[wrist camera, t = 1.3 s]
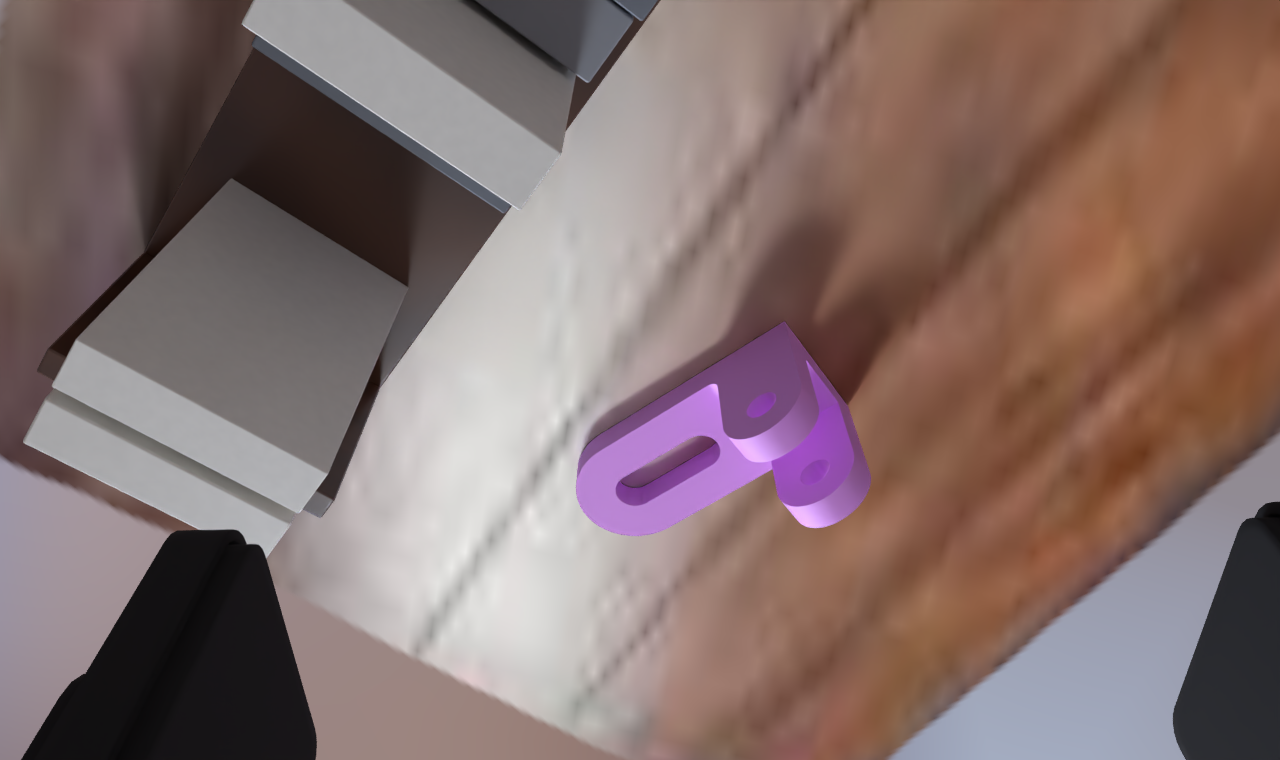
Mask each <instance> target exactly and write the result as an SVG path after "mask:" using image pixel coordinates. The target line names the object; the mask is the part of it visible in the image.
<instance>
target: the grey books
mask: <svg viewBox="0 0 1280 760" xmlns="http://www.w3.org/2000/svg"><path fill="white" fill-rule="evenodd" d="M475 1H477V2H478V3H479V4H481V5H482V6H483V7H485V8H486V9H487V10H489V11H490V12H491V13H493V14H494V15H496V16H497V17H498V18H500V19H501V20H502V21H504V22H505V23H506V24H508V25H509V26H510V27H512V28H513V29H515V30H516V31H517V32H519V33H520V34H521V35H523V36H524V37H525V38H527V39H528V40H530V41H531V42H532V43H534V44H535V45H536V46H538V47H539V48H540V49H542V50H543V51H544V52H546V53H547V54H549V55H550V56H551V57H553V58H554V59H555V60H557V61H558V62H559V63H561V64H562V65H563V66H565V67H566V68H568V69H569V70H570V71H572V72H573V73H574V74H576V75H577V76H578V77H580V78H581V79H582V80H584V81H585V82H590V81H591V80H592V78H593V77H594V75H595V74H596V73H597V71H598V70H599V68H600V67H601V66H602V64H603V63H604V61H605V60H606V59H607V57H608V56H609V54H610V53H611V52H612V50H613V49H614V47H615V46H616V45H617V43H618V42H619V40H620V39H621V38H622V36H623V35H624V33H625V32H626V31H627V29H628V28H629V27H630V25H631V24H632V22H633V16H635V17H636V18H637V19H639V20H640V21H643V20H644V19H645V17H646V16H647V15H648V13H649V12H650V11H651V9H652V8H653V6H654V5H655V4H656V2H657V1H658V0H475ZM252 46H253V47H254V48H255V49H257V50H258V51H260V52H261V53H263V54H264V55H266V56H268V57H269V58H271V59H272V60H274V61H275V62H277V63H278V64H280V65H281V66H283V67H284V68H286V69H287V70H289V71H290V72H292V73H293V74H295V75H296V76H298V77H299V78H301V79H302V80H304V81H305V82H307V83H308V84H310V85H311V86H313V87H314V88H316V89H317V90H319V91H320V92H322V93H323V94H325V95H326V96H328V97H329V98H331V99H332V100H334V101H335V102H337V103H338V104H340V105H341V106H343V107H344V108H346V109H347V110H349V111H350V112H352V113H353V114H355V115H356V116H358V117H359V118H361V119H362V120H364V121H365V122H367V123H368V124H370V125H371V126H373V127H374V128H376V129H377V130H379V131H380V132H382V133H383V134H385V135H386V136H388V137H389V138H391V139H392V140H394V141H395V142H397V143H398V144H400V145H401V146H403V147H404V148H406V149H407V150H409V151H410V152H412V153H413V154H415V155H416V156H418V157H419V158H421V159H422V160H424V161H425V162H427V163H428V164H430V165H431V166H433V167H434V168H436V169H437V170H439V171H440V172H442V173H443V174H445V175H446V176H448V177H449V178H451V179H452V180H454V181H455V182H457V183H458V184H460V185H461V186H463V187H464V188H466V189H467V190H469V191H470V192H472V193H473V194H475V195H476V196H478V197H480V198H481V199H483V200H484V201H486V202H487V203H489V204H490V205H492V206H493V207H495V208H496V209H498V210H499V211H501V212H502V213H506V211H507V210H508V209H509V207H510V206H511V205H510V204H509V203H507V202H506V201H504V200H503V199H501V198H500V197H498V196H497V195H495V194H494V193H492V192H491V191H489V190H488V189H486V188H485V187H483V186H482V185H480V184H479V183H477V182H476V181H474V180H473V179H471V178H470V177H468V176H467V175H465V174H464V173H462V172H461V171H459V170H458V169H456V168H455V167H453V166H452V165H450V164H449V163H447V162H446V161H444V160H443V159H441V158H440V157H438V156H437V155H436V154H434V153H433V152H431V151H430V150H428V149H427V148H425V147H424V146H422V145H421V144H419V143H418V142H416V141H415V140H413V139H412V138H410V137H409V136H407V135H406V134H404V133H403V132H401V131H400V130H398V129H397V128H395V127H394V126H392V125H391V124H389V123H388V122H386V121H385V120H383V119H382V118H380V117H379V116H377V115H376V114H374V113H373V112H371V111H370V110H368V109H367V108H365V107H364V106H362V105H361V104H359V103H358V102H356V101H355V100H353V99H352V98H350V97H349V96H347V95H346V94H344V93H343V92H341V91H340V90H338V89H337V88H336V87H334V86H333V85H331V84H330V83H328V82H327V81H325V80H324V79H322V78H321V77H319V76H318V75H316V74H315V73H313V72H312V71H310V70H309V69H307V68H306V67H304V66H303V65H301V64H300V63H298V62H297V61H295V60H294V59H292V58H291V57H289V56H288V55H286V54H285V53H283V52H282V51H280V50H279V49H277V48H276V47H274V46H273V45H271V44H270V43H268V42H267V41H265V40H264V39H262V38H261V37H259V36H258V35H256V36H255V38H254V40H253V42H252Z"/></svg>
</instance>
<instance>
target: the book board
mask: <svg viewBox="0 0 1280 760" xmlns="http://www.w3.org/2000/svg"><path fill="white" fill-rule="evenodd" d="M659 1H660V0H658V1H657V2H656V4H655V5H654V6H653V8H652V9H651V11H650V12H649V13H648V15H647V16H646V17H645V19H644V20H643V21H640V20H639V19H637V18H636V17H635V16H633V22H632V24H631V25H630V27H629V28H628V29H627V31H626V32H625V33H624V35H623V36H622V38H621V39H620V40H619V42H618V43H617V45H616V46H615V47H614V49H613V50H612V52H611V53H610V54H609V56H608V57H607V59H606V60H605V61H604V63H603V64H602V66H601V67H600V68H599V70H598V71H597V73H596V74H595V75H594V77H593V78H592V80H591V81H590V82H585V81H584V80H582V79H581V78H580V77H578V76H577V75H576V78H575V83H574V88H573V94H572V99H571V104H570V110H569V115H568V120H567V126H566V130H567V129H568V127H569V126H570V125H571V123H572V122H573V120H574V119H575V118H576V116H577V115H578V114H579V112H580V111H581V109H582V108H583V107H584V105H585V104H586V102H587V101H588V100H589V98H590V97H591V96H592V94H593V93H594V91H595V90H596V89H597V87H598V86H599V84H600V83H601V82H602V80H603V79H604V78H605V76H606V75H607V73H608V72H609V71H610V69H611V68H612V66H613V65H614V64H615V62H616V61H617V60H618V58H619V57H620V55H621V54H622V53H623V51H624V50H625V49H626V47H627V46H628V44H629V43H630V42H631V40H632V39H633V37H634V36H635V35H636V33H637V32H638V31H639V29H640V28H641V26H642V25H643V24H644V22H645V21H646V19H647V18H648V17H649V15H650V14H651V13H652V11H653V10H654V8H655V7H656V6H657V4H658V3H659ZM565 132H566V131H565ZM230 179H233V180H235V181H237V182H238V183H240V184H241V185H243V186H245V187H246V188H248V189H250V190H251V191H253V192H254V193H256V194H258V195H259V196H261V197H263V198H264V199H266V200H267V201H269V202H271V203H272V204H274V205H276V206H277V207H279V208H280V209H282V210H284V211H285V212H287V213H289V214H290V215H292V216H293V217H295V218H297V219H298V220H300V221H301V222H303V223H305V224H306V225H308V226H310V227H311V228H313V229H314V230H316V231H318V232H319V233H321V234H323V235H324V236H326V237H327V238H329V239H331V240H332V241H334V242H336V243H337V244H339V245H340V246H342V247H344V248H345V249H347V250H349V251H350V252H352V253H353V254H355V255H357V256H358V257H360V258H362V259H363V260H365V261H366V262H368V263H370V264H371V265H373V266H375V267H376V268H378V269H379V270H381V271H383V272H384V273H386V274H388V275H389V276H391V277H392V278H394V279H396V280H397V281H399V282H401V283H402V284H404V285H405V286H407V287H408V289H407V292H406V294H405V296H404V299H403V301H402V303H401V306H400V308H399V310H398V313H397V315H396V317H395V319H394V322H393V324H392V326H391V329H390V331H389V333H388V336H387V338H386V340H385V343H384V345H383V347H382V350H381V352H380V354H379V357H378V359H377V361H376V364H375V366H374V368H373V371H372V373H371V375H370V378H369V380H368V382H367V385H366V387H365V389H364V392H363V394H362V396H361V399H360V401H359V403H358V406H357V408H356V410H355V413H354V415H353V417H352V420H351V422H350V424H349V427H348V429H347V431H346V433H345V436H344V438H343V440H342V443H341V445H340V447H339V450H338V452H337V454H336V457H335V459H334V461H333V464H332V466H331V468H330V471H329V473H328V475H327V476H326V478H325V479H324V480H323V482H322V483H321V484H320V486H319V487H318V489H317V490H316V491H315V493H314V494H313V495H312V497H311V498H310V499H309V501H308V502H307V504H306V505H305V506H304V508H303V510H305V511H307V512H309V513H311V514H313V515H315V516H317V517H319V518H321V517H322V516H323V515H324V514H325V512H326V511H327V510H328V508H329V507H330V506H331V504H332V503H333V502H334V500H335V498H336V496H337V493H338V491H339V488H340V486H341V483H342V481H343V478H344V476H345V473H346V471H347V469H348V466H349V464H350V461H351V459H352V456H353V454H354V451H355V449H356V446H357V444H358V441H359V439H360V436H361V434H362V432H363V429H364V427H365V424H366V422H367V419H368V417H369V414H370V412H371V409H372V407H373V404H374V402H375V400H376V397H377V395H378V392H379V389H380V387H381V386H382V385H383V383H384V382H385V381H386V379H387V378H388V376H389V375H390V374H391V372H392V371H393V369H394V368H395V367H396V365H397V364H398V363H399V361H400V360H401V358H402V357H403V356H404V354H405V353H406V351H407V350H408V349H409V347H410V346H411V345H412V343H413V342H414V340H415V339H416V338H417V336H418V335H419V333H420V332H421V331H422V329H423V328H424V327H425V325H426V324H427V322H428V321H429V320H430V318H431V317H432V316H433V314H434V313H435V311H436V310H437V309H438V307H439V306H440V304H441V303H442V302H443V300H444V299H445V298H446V296H447V295H448V293H449V292H450V291H451V289H452V288H453V286H454V285H455V284H456V282H457V281H458V280H459V278H460V277H461V275H462V274H463V273H464V271H465V270H466V268H467V267H468V266H469V264H470V263H471V262H472V260H473V259H474V257H475V256H476V255H477V253H478V252H479V250H480V249H481V248H482V246H483V245H484V244H485V242H486V241H487V239H488V238H489V237H490V235H491V234H492V233H493V231H494V230H495V228H496V227H497V226H498V224H499V223H500V221H501V220H502V219H503V217H504V216H505V215H506V213H507V212H508V210H509V209H510V208H511V206H512V205H511V206H510V207H509V209H508V210H507V211H506V213H502V212H501V211H499V210H498V209H496V208H495V207H493V206H492V205H490V204H489V203H487V202H486V201H484V200H483V199H481V198H480V197H478V196H476V195H475V194H473V193H472V192H470V191H469V190H467V189H466V188H464V187H463V186H461V185H460V184H458V183H457V182H455V181H454V180H452V179H451V178H449V177H448V176H446V175H445V174H443V173H442V172H440V171H439V170H437V169H436V168H434V167H433V166H431V165H430V164H428V163H427V162H425V161H424V160H422V159H421V158H419V157H418V156H416V155H415V154H413V153H412V152H410V151H409V150H407V149H406V148H404V147H403V146H401V145H400V144H398V143H397V142H395V141H394V140H392V139H391V138H389V137H388V136H386V135H385V134H383V133H382V132H380V131H379V130H377V129H376V128H374V127H373V126H371V125H370V124H368V123H367V122H365V121H364V120H362V119H361V118H359V117H358V116H356V115H355V114H353V113H352V112H350V111H349V110H347V109H346V108H344V107H343V106H341V105H340V104H338V103H337V102H335V101H334V100H332V99H331V98H329V97H328V96H326V95H325V94H323V93H322V92H320V91H319V90H317V89H316V88H314V87H313V86H311V85H310V84H308V83H307V82H305V81H304V80H302V79H301V78H299V77H298V76H296V75H295V74H293V73H292V72H290V71H289V70H287V69H286V68H284V67H283V66H281V65H280V64H278V63H277V62H275V61H274V60H272V59H271V58H269V57H268V56H266V55H264V54H263V53H261V52H260V51H258V50H257V49H255V48H253V50H252V52H251V54H250V56H249V57H248V59H247V61H246V63H245V65H244V67H243V69H242V70H241V72H240V74H239V76H238V78H237V80H236V82H235V84H234V85H233V87H232V89H231V91H230V93H229V95H228V97H227V98H226V100H225V102H224V104H223V106H222V108H221V110H220V112H219V113H218V115H217V117H216V119H215V121H214V123H213V125H212V126H211V128H210V130H209V132H208V134H207V136H206V138H205V139H204V141H203V143H202V145H201V147H200V149H199V151H198V153H197V154H196V156H195V158H194V160H193V162H192V164H191V166H190V167H189V169H188V171H187V173H186V175H185V177H184V179H183V181H182V182H181V184H180V186H179V188H178V190H177V192H176V194H175V195H174V197H173V199H172V201H171V203H170V205H169V207H168V208H167V210H166V212H165V214H164V216H163V218H162V220H161V222H160V223H159V225H158V227H157V229H156V231H155V233H154V235H153V236H152V238H151V240H150V242H149V244H148V246H147V248H146V250H145V251H144V253H143V254H142V255H141V256H140V257H139V258H138V259H137V260H136V261H135V262H134V263H133V264H132V265H131V266H130V267H129V268H128V269H127V270H126V271H125V272H124V273H123V274H122V275H121V276H120V277H119V278H118V279H117V280H116V281H115V282H114V283H113V284H112V285H111V286H110V287H109V288H108V289H107V290H106V291H105V292H104V293H103V294H102V295H101V296H100V297H99V298H98V299H97V300H96V301H95V302H94V303H93V304H92V305H91V306H90V307H89V308H88V309H87V310H86V311H85V312H84V313H83V314H82V315H81V316H80V317H79V318H78V319H77V320H76V321H75V322H74V323H73V324H72V325H71V326H70V327H69V328H68V329H67V330H66V331H65V332H64V333H63V334H62V335H61V336H60V337H59V338H58V339H57V340H56V341H55V342H54V343H53V344H52V345H51V346H50V347H49V348H48V349H47V351H46V353H45V355H44V357H43V359H42V361H41V363H40V365H39V367H38V369H37V372H38V373H40V374H42V375H44V376H46V377H48V378H50V379H52V380H55V378H56V376H57V374H58V372H59V370H60V368H61V367H62V365H63V363H64V361H65V359H66V357H67V355H68V353H69V351H70V349H71V347H72V346H73V344H74V342H75V340H76V338H77V337H78V336H79V335H80V334H81V333H82V332H83V331H84V330H85V329H86V328H87V327H88V326H89V325H90V324H91V323H92V322H93V321H94V320H95V319H96V318H97V317H98V316H99V315H100V314H101V313H102V312H103V311H104V309H105V308H106V307H107V306H108V305H109V304H110V303H111V302H112V301H113V300H114V299H115V298H116V297H117V296H118V295H119V294H120V293H121V292H122V291H123V290H124V289H125V288H126V287H127V286H128V285H129V284H130V283H131V281H132V280H133V279H134V278H135V277H136V276H137V275H138V274H139V273H140V272H141V271H142V270H143V269H144V268H145V267H146V266H147V265H148V264H149V263H150V262H151V261H152V260H153V259H154V258H155V257H156V256H157V255H158V253H159V252H160V251H161V250H162V249H163V248H164V247H165V246H166V245H167V244H168V243H169V242H170V241H171V240H172V239H173V238H174V237H175V236H176V235H177V234H178V233H179V232H180V231H181V230H182V229H183V228H184V227H185V226H186V224H187V223H188V222H189V221H190V220H191V219H192V218H193V217H194V216H195V215H196V214H197V213H198V212H199V211H200V210H201V209H202V208H203V207H204V206H205V205H206V204H207V203H208V202H209V201H210V200H211V199H212V198H213V196H214V195H215V194H216V193H217V192H218V191H219V190H220V189H221V188H222V187H223V186H224V185H225V184H226V183H227V182H228V181H229V180H230Z"/></svg>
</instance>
